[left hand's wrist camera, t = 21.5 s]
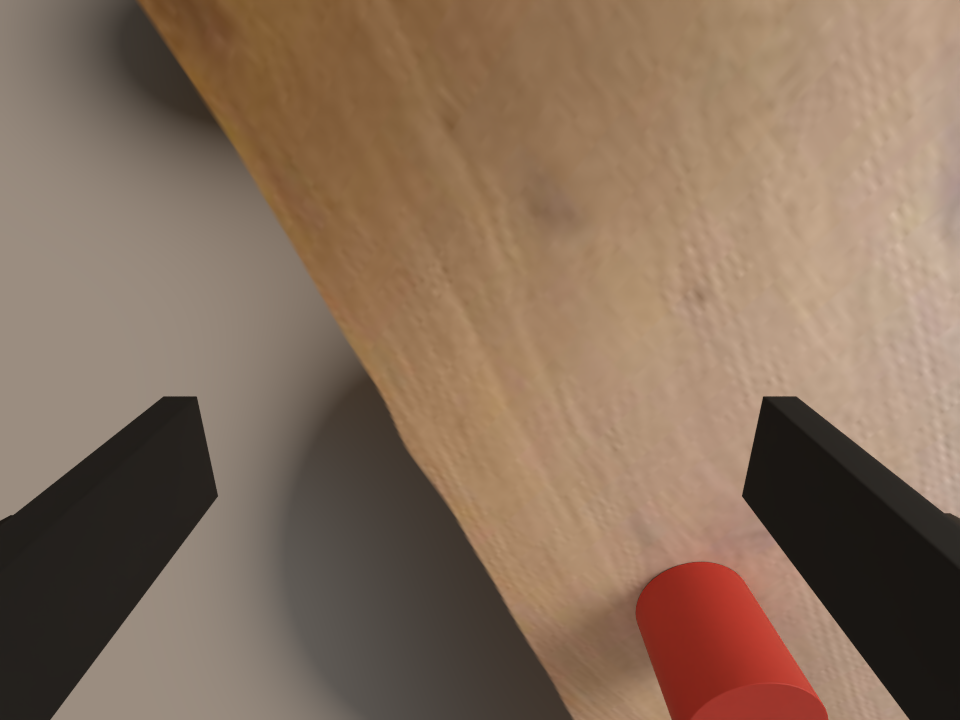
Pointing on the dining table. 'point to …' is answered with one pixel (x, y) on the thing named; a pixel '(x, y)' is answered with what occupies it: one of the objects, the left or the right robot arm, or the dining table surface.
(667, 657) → the canister
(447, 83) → the dining table surface
